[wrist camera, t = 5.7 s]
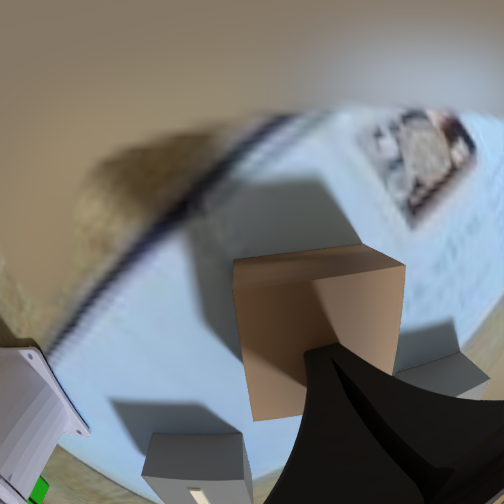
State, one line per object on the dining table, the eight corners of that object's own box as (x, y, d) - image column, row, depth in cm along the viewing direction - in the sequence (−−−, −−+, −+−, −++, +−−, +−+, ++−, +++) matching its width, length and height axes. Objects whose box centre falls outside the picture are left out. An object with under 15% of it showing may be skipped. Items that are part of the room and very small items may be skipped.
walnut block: (249, 367, 14) (253, 421, 10) (233, 257, 12) (232, 290, 8) (357, 349, 14) (387, 393, 10) (360, 242, 12) (405, 265, 9)
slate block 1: (177, 473, 16) (171, 512, 12) (153, 430, 15) (140, 477, 11) (251, 472, 16) (254, 514, 12) (242, 430, 15) (244, 482, 11)
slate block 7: (375, 429, 16) (395, 468, 12) (395, 370, 14) (426, 411, 10) (435, 408, 16) (459, 439, 12) (459, 350, 15) (492, 380, 11)
